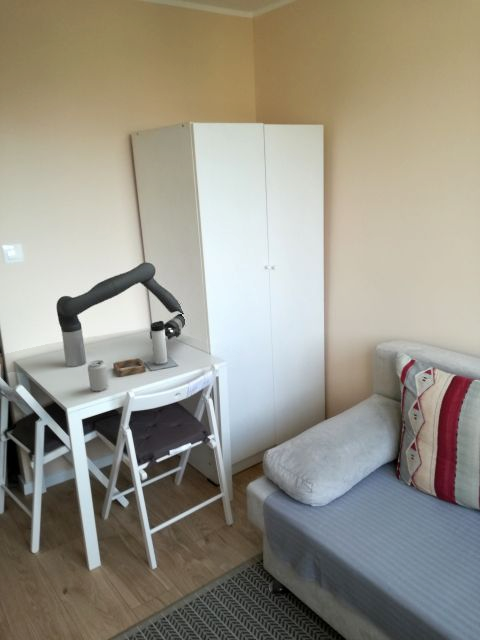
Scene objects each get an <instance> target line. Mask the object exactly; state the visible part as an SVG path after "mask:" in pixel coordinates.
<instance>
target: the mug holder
mask: <svg viewBox="0 0 480 640" xmlns="http://www.w3.org/2000/svg"><path fill="white" fill-rule="evenodd" d="M112 363H113V365H112V366H113V370H114V371H115V374H116V375H117V377H118V378H120V377H122V378H124V377H127V376H134V375H138V374H143V373H147V372H146V364H145V363H144V362H143V361H142V359H140V357H139V358H131V359H126V360H121V361H116V362H112ZM123 368H124V369H123Z"/></svg>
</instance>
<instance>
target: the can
mask: <svg viewBox="0 0 480 640" xmlns="http://www.w3.org/2000/svg"><path fill="white" fill-rule="evenodd" d="M87 374H88V380H89V387H90V390H92V391H94V392H103V391H105V390H106V389H108V387H109V379H108V371H107V364H106V363H105V361H104V360H103V359H97V360H96V359H95V360H92V361H90V362H89V363H88V365H87Z"/></svg>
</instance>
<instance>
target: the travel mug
mask: <svg viewBox="0 0 480 640" xmlns="http://www.w3.org/2000/svg"><path fill="white" fill-rule="evenodd" d="M164 324H165V323H164V321H163V320H159V321H155V322H152V323H151V324H150V331H151V336H152V339H151V344H152V351H153V352H152V355H153V360H154V364H155V365H165V364H167V363H168V361H167V357H168V353H167V352H168V351H167V342H166V336H165V329H164Z"/></svg>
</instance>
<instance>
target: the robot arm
mask: <svg viewBox="0 0 480 640" xmlns="http://www.w3.org/2000/svg"><path fill="white" fill-rule="evenodd" d="M155 275H156V267H155V265H154V264H152V263H151V262H142V263H140V264H138V265H137V266H136V267H134V268H132V269H131V270H129V271H125V272H122V273H119V274H117V275H114V276H111V277H109V278H107V279H104V280H102V281H100V282H98V283H96V284H95V285H94V286H92V287H91V289H89V290H88V291H87V292H85V293H82V294H80V295H77V296H74V297H72V296H69V295H64V296H61V297H59V298H58V299H57V302H56V307H55V308H56V312H57V313H56V315H57V319H58V324H59V326H60V331H61V336H62V344H63V352H64V359H65V363H66V367H70V368H71V367H79V366H83V365H85V364H86V363H87V357H86V350H85V343H84V335H83V329H82V322H81V321H80V319H79V317H78V315H80V314H82V313H83V312H86V310H88V309H90V308H92V307H95V306H96V305H99V304H102V303H103V302H105V301H108V300H111V299H112V298H115V297H116V296H119V295H120V294H122V293H123V292H125V291H127V290H128V289H130V288H132V287H134V286H135V285H137V284H141V285H142V286H144V287H145V288H146V289H147V290H148V291H149V292H150V293H152V295H153V296H155V298H157V300H158V301H159V302H160V303H161V304H162V305H163V307H164V308H165V309H166V310H167V311H168V312H169V313H171V314H173V313H176V312H178V314H176V315H175V316H174V317H172V318H171V319H168V320H167V321H166V322H165V323H164V329H165V337H167V340H169V341H170V340H171V339H173V338H179V337H180V335H182V329H183V328H184V327H185V326H186V325H185V319H184V317H183V316H182V314H184V313H183V311H182V309H181V306H180V304H181V303H180V302H179V301H178V300H177V298H175V296H174V295H173V294H172V293H171V292H170V291H168V290H167V289H166V288H165V287H163V286H162V285H161V284H159V282H157V280H156V279H155V278H154V277H155ZM178 302H179V303H180V304H179V303H178ZM179 313H182V314H179ZM184 325H185V326H184ZM149 338H150V340H152V336H151V330H150V331H149Z"/></svg>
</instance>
